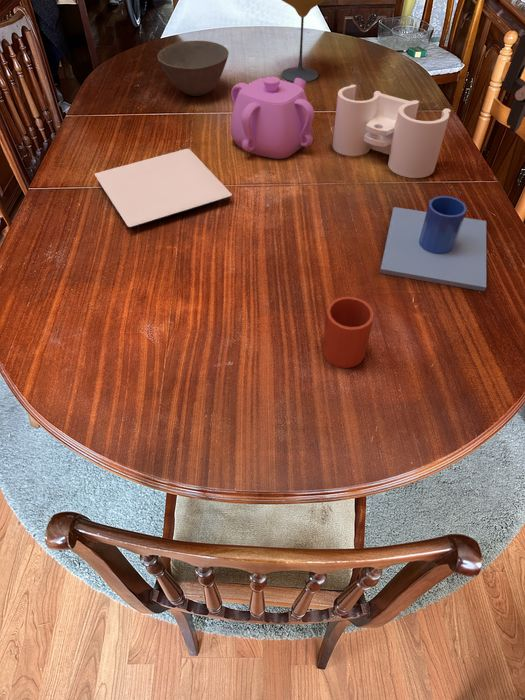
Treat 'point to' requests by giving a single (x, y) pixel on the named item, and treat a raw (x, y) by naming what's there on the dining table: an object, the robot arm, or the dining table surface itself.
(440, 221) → the blue cup
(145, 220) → the plate
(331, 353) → the terracotta cup
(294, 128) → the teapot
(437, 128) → the bracket
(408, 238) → the blue mat
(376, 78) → the dining table surface
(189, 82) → the bowl
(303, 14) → the cocktail glass
